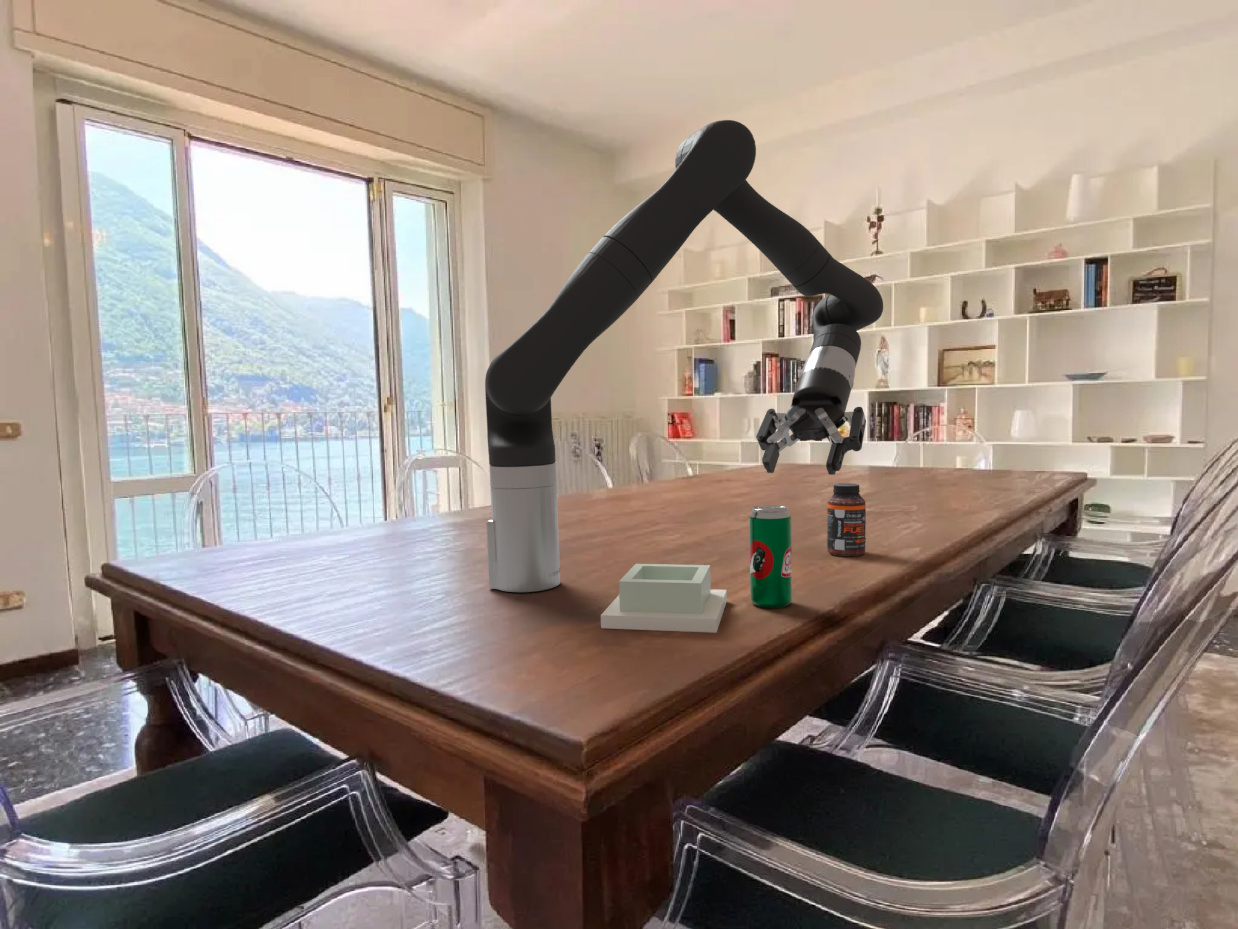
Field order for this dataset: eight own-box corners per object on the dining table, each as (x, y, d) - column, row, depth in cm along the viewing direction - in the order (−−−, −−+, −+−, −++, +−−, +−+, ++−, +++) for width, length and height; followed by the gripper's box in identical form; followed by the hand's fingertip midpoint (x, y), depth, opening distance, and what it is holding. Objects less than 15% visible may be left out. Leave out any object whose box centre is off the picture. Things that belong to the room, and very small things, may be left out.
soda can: (792, 610, 90) (791, 510, 89) (749, 609, 91) (748, 510, 90) (791, 599, 95) (790, 504, 94) (751, 598, 96) (749, 504, 95)
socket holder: (601, 628, 85) (599, 584, 85) (626, 598, 98) (624, 560, 97) (716, 632, 82) (715, 587, 82) (726, 601, 95) (726, 562, 94)
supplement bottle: (845, 559, 117) (845, 487, 116) (819, 553, 123) (818, 484, 122) (873, 554, 120) (873, 484, 119) (846, 548, 125) (846, 481, 125)
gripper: (771, 368, 111) (740, 451, 102) (870, 362, 103) (846, 452, 94) (784, 403, 115) (756, 486, 107) (879, 401, 108) (858, 489, 99)
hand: (798, 470), depth 101 cm, fingers open, 8 cm apart
